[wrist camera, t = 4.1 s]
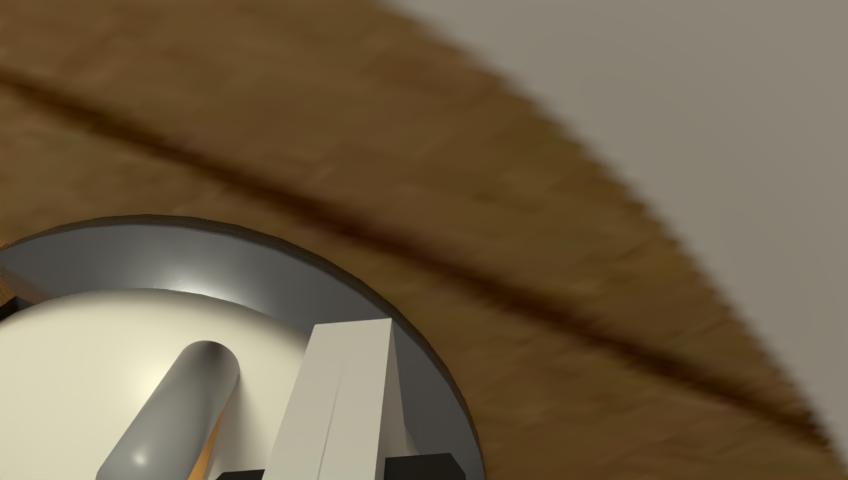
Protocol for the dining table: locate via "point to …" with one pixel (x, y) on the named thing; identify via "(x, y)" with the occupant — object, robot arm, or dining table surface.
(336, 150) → the dining table surface
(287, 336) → the dial
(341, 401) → the robot arm
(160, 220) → the dial base
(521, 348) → the dining table surface
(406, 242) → the dining table surface
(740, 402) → the dining table surface
